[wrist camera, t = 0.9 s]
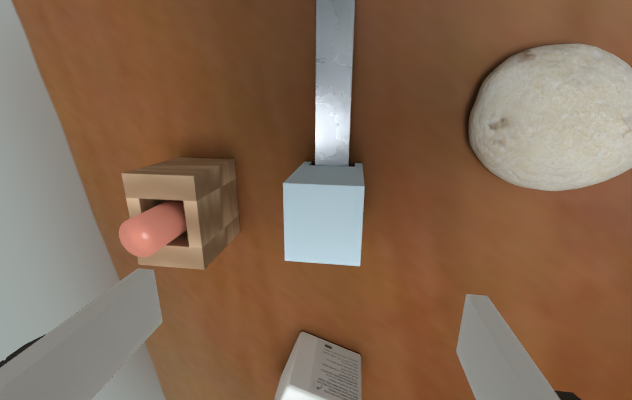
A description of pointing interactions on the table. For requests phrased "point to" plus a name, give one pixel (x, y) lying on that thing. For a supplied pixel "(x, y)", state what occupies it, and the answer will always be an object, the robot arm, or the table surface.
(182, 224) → the plunger
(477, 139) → the stone
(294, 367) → the container
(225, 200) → the wooden box
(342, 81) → the rail
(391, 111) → the table surface
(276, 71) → the table surface
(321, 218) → the carriage
